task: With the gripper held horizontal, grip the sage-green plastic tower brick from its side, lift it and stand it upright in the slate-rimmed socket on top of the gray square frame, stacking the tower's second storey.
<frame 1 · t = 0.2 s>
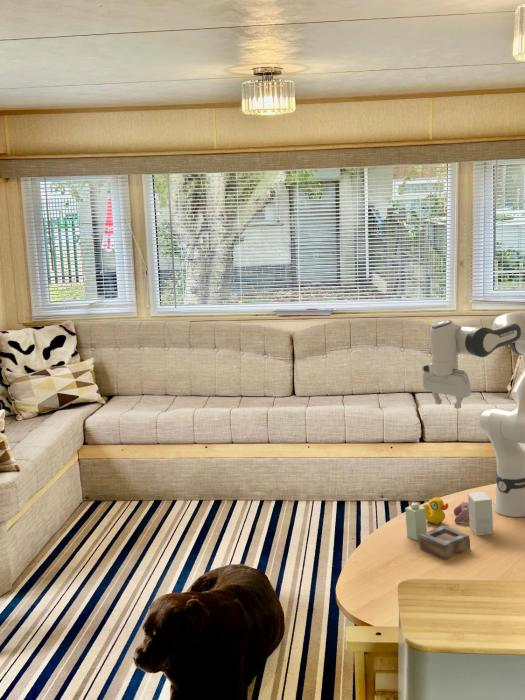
hand: (448, 406, 267), 48 cm above the table, tool pointing down, fingers open, 8 cm apart
video game controller: (462, 518, 288), on the table
duckling: (435, 523, 287), on the table
gray square frame: (445, 548, 265), on the table
small box: (481, 530, 277), on the table
tower brick: (417, 536, 277), on the table
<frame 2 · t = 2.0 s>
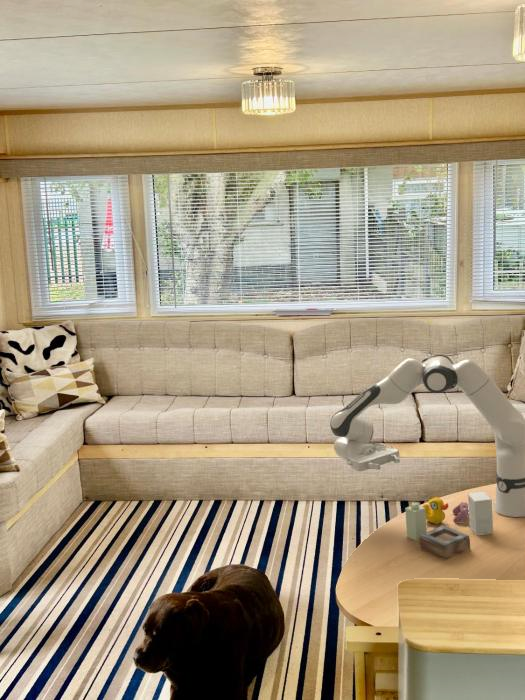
hand: (388, 464, 283), 24 cm above the table, tool horizontal, fingers open, 8 cm apart
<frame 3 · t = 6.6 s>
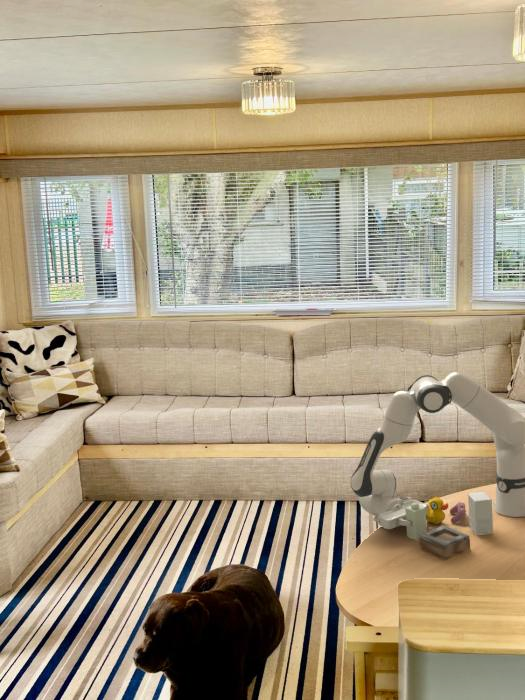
hand: (417, 521, 275), 6 cm above the table, tool horizontal, fingers open, 5 cm apart
video game controller: (458, 519, 288), on the table
tower brick: (417, 536, 277), on the table, touching gripper
everything else where it was.
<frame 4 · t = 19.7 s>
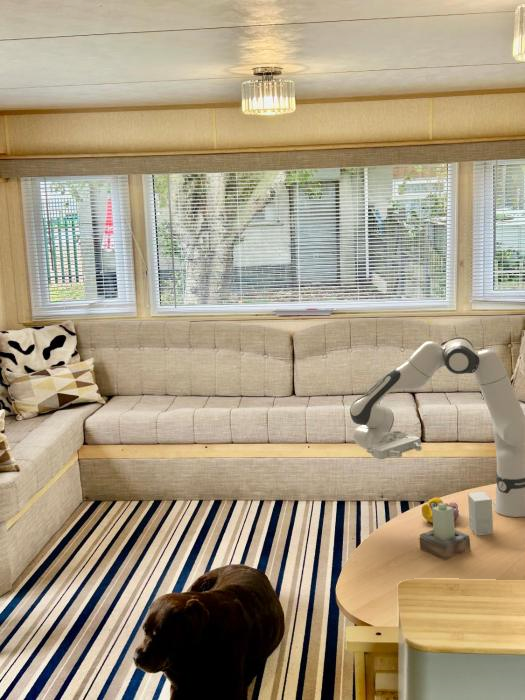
hand: (410, 451, 278), 30 cm above the table, tool horizontal, fingers open, 8 cm apart
video game controller: (450, 519, 289), on the table
tower brick: (444, 538, 264), point 4 cm above the table, touching gray square frame
everything else where it was.
at the end: tower brick 0.0 cm off-centre on the gray square frame, point 4.0 cm above the gray square frame's base; tower brick tilted 0°; the gripper is holding nothing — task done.
